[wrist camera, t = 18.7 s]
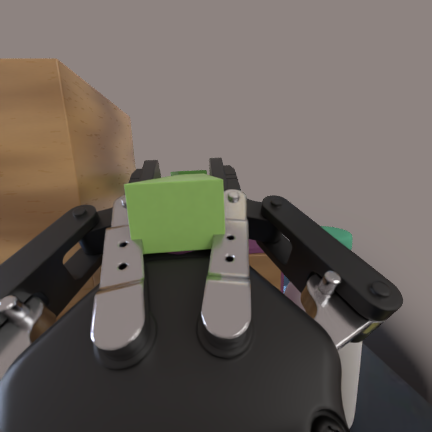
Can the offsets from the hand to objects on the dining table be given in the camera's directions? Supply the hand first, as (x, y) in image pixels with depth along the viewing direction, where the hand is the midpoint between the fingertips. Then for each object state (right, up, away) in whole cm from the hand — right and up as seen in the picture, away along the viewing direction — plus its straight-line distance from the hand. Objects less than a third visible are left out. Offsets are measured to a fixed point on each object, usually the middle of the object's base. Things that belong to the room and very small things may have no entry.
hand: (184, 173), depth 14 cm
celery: (-1, -1, +7) cm, 7 cm away
